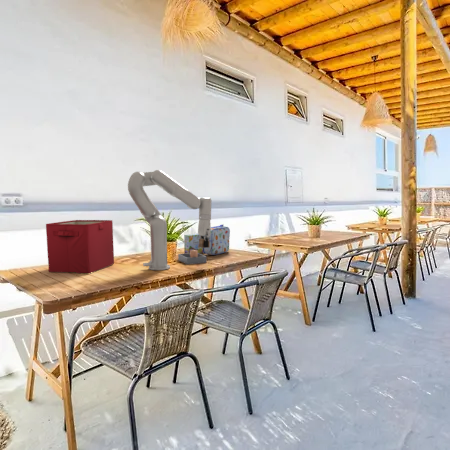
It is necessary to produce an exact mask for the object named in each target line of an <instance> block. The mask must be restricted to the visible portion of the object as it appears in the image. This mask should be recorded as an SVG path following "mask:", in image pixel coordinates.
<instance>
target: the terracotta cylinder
mask: <svg viewBox="0 0 450 450" xmlns="http://www.w3.org/2000/svg"><path fill="white" fill-rule="evenodd" d="M191 257H198V250H190V258H191Z"/></svg>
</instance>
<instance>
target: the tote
mask: <svg viewBox="0 0 450 450" xmlns="http://www.w3.org/2000/svg"><path fill="white" fill-rule="evenodd" d="M177 254H178V256H177V257H178V261H179V262H181V263H184V264H185V265H195V264H204V263H207V256H206V255H205V254H202V253H198V257H191V258H190V253H185V254H184V253H177Z"/></svg>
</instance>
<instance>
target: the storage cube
mask: <svg viewBox="0 0 450 450" xmlns="http://www.w3.org/2000/svg"><path fill="white" fill-rule="evenodd" d="M113 223H114V222H113V219H112V220H111V219H106V220H105V219H104V220H103V219H102V220H101V219H74V220H66V221H65V220H64V221H59V222H51V223H45V231H46V232H45V233H46V247H47V248H46V249H47V263H48V265H47V266H48V272H49V273H63V272H76V273H75V274H81V273H90V274H92V273H91V272H93V273H95V272H97V270H98V271H100V270H103V269H106V268H108V267H111V266H112V265H115V256H114V255H115V254H114V253H115V252H114V229H113V228H114V227H113ZM94 271H95V272H94Z"/></svg>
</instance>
